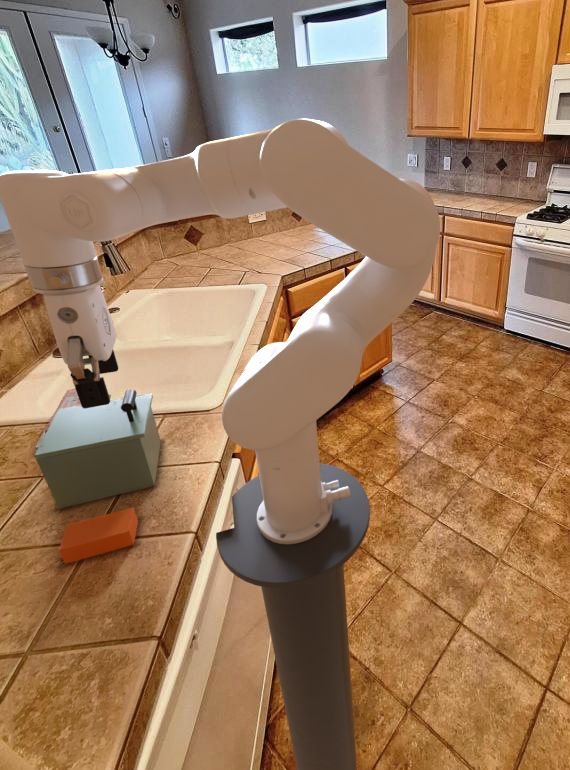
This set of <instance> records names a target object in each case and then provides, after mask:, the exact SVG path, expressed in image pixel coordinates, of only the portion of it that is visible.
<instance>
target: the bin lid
mask: <svg viewBox="0 0 570 770" xmlns="http://www.w3.org/2000/svg"><path fill="white" fill-rule="evenodd" d="M137 394H138V393H137V391H136V390H135V389H133V388H129V389H126V390H125V392H124V396H123V398H116V399H110V403H109V404H107V405H102V406H96V407H91V408H83V407H82V406H76V407H70V408H65V409H59V410H58V411H57V413H56V415H55V417H54V419H53V421H52V423H51V425H50V427H49V428H48V430H47V432H46V434H45V436H44V438H43V440H42V442H41V444H40V446H39V447H38V449H37V450H35V453H34V459H35V460H36V459H40V458H45V457H50V456H54V455H59V454H64V453H69V452H74V451H79V450H84V449H89V448H93V447H98V446H103V445H108V444H113V443H118V442H123V441H128V440H133V439H137V438H142V437H145V435H146V430H147V424H148V419H149V414H150V409H151V408H152V403H153V398H154V396H153V393H152V392H151V393H146V394H140V395H137Z"/></svg>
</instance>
